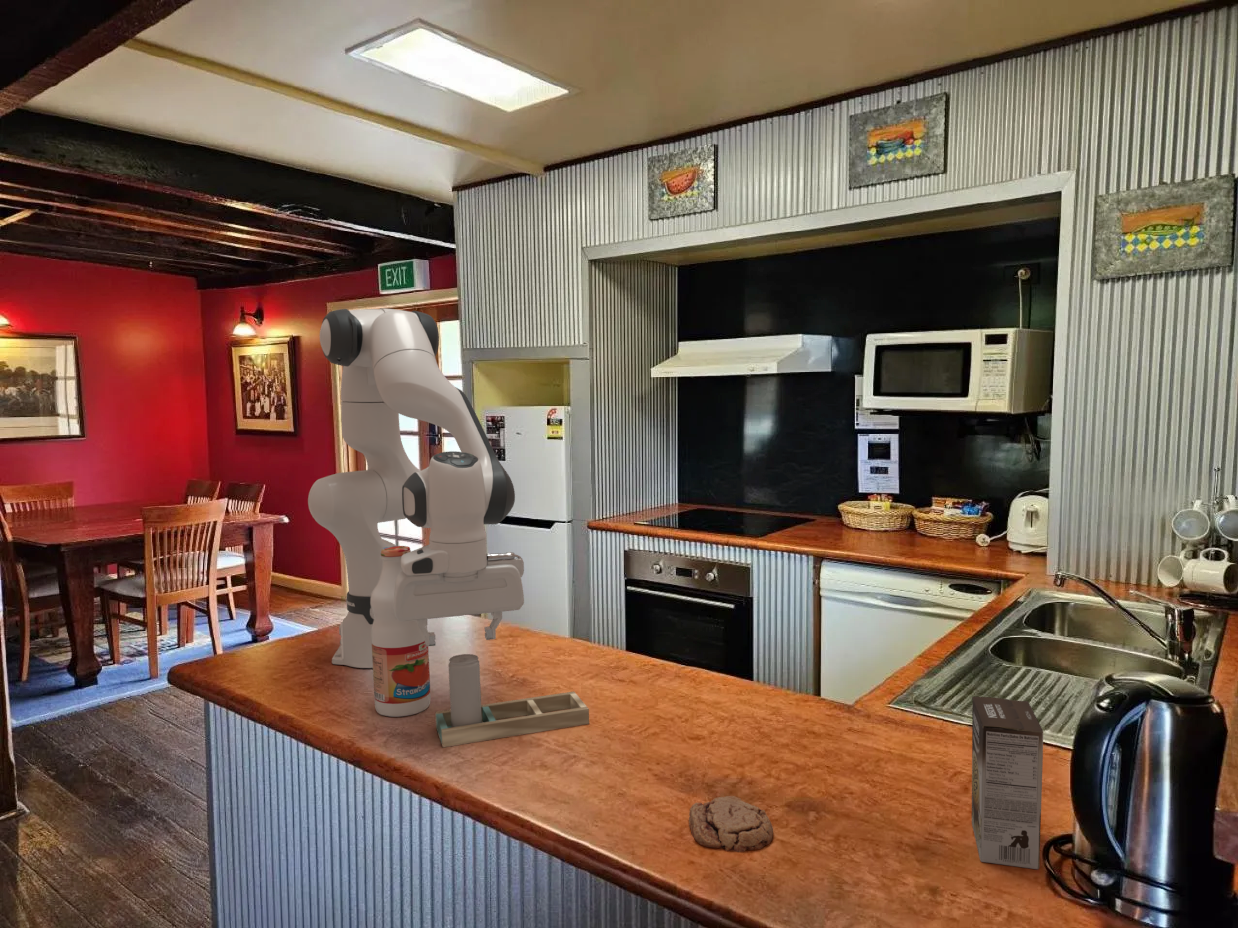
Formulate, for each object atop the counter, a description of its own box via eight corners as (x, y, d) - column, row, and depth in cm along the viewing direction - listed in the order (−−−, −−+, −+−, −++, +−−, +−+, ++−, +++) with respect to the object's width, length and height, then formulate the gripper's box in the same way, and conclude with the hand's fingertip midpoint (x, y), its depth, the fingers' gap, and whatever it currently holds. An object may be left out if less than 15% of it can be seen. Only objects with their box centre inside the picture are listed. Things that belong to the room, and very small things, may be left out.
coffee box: (969, 822, 102) (971, 694, 101) (1026, 828, 101) (1029, 699, 99) (978, 862, 94) (980, 723, 92) (1041, 870, 92) (1044, 729, 90)
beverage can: (484, 725, 135) (482, 653, 134) (478, 738, 130) (475, 663, 129) (455, 725, 135) (452, 653, 134) (448, 738, 130) (444, 663, 129)
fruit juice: (400, 694, 151) (392, 541, 148) (442, 701, 146) (435, 544, 144) (363, 713, 142) (354, 551, 140) (406, 721, 138) (398, 555, 136)
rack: (435, 726, 136) (435, 711, 135) (574, 705, 143) (574, 691, 143) (442, 747, 128) (442, 731, 127) (589, 723, 135) (588, 708, 135)
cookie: (763, 862, 95) (763, 837, 95) (675, 844, 99) (675, 820, 99) (782, 820, 104) (781, 797, 104) (701, 805, 109) (700, 783, 108)
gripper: (519, 547, 137) (520, 629, 138) (390, 556, 130) (393, 642, 132) (527, 555, 131) (529, 640, 132) (393, 565, 124) (396, 655, 126)
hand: (460, 641), depth 132 cm, fingers open, 8 cm apart
